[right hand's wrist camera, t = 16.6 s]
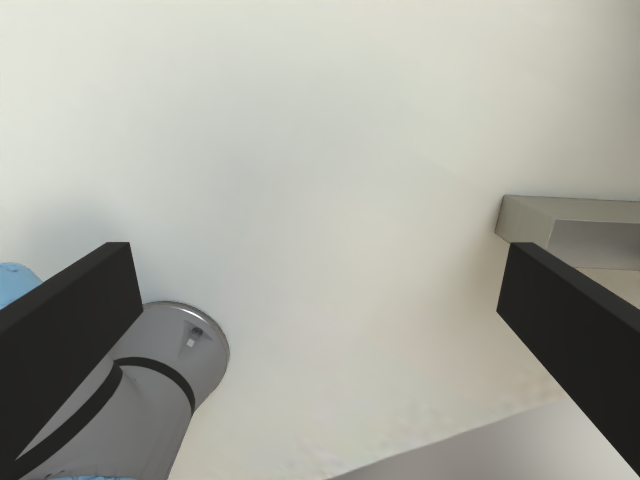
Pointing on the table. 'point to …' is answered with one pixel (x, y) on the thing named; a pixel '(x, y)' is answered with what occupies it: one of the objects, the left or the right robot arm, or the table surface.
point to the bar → (575, 229)
